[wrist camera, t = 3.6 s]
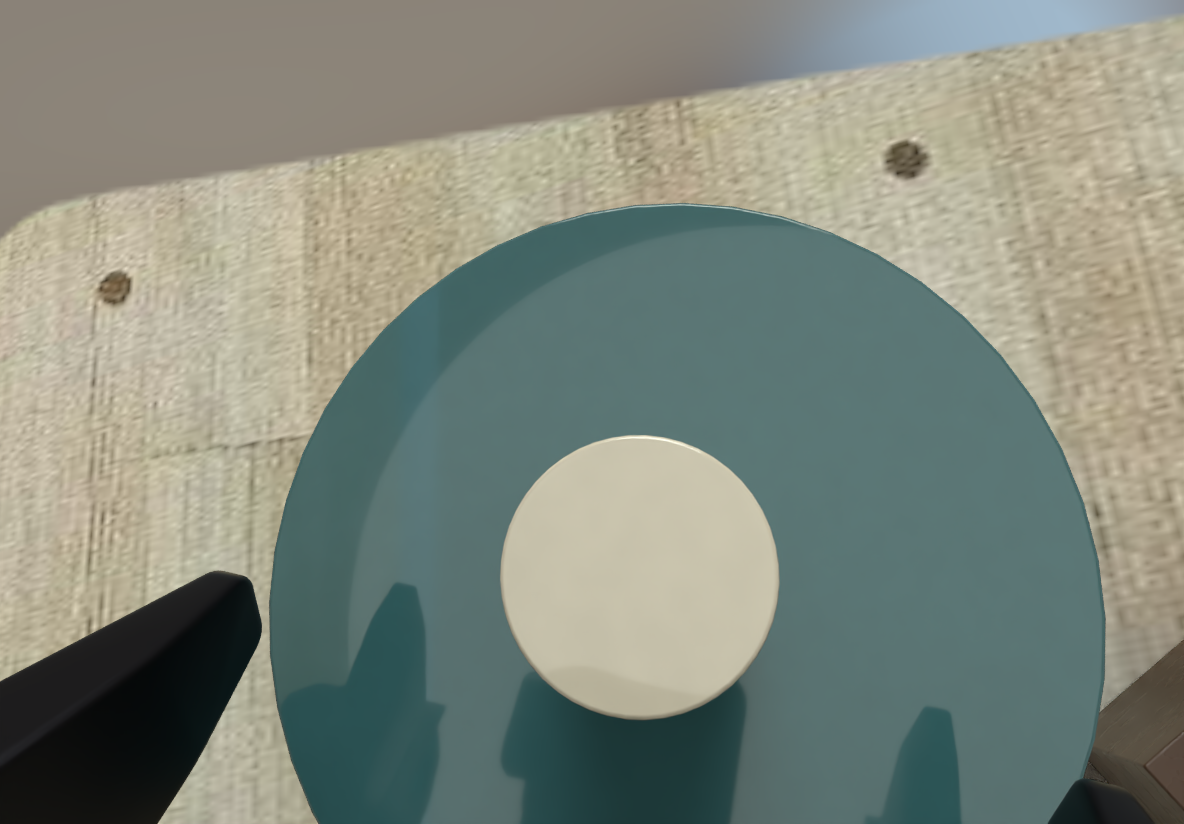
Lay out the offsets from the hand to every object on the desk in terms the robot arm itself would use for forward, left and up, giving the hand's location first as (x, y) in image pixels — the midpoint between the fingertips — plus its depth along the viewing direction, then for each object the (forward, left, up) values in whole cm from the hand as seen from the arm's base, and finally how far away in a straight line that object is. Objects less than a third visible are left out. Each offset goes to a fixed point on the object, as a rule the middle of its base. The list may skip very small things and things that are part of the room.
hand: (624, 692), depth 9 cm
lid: (+1, 0, -3) cm, 3 cm away
